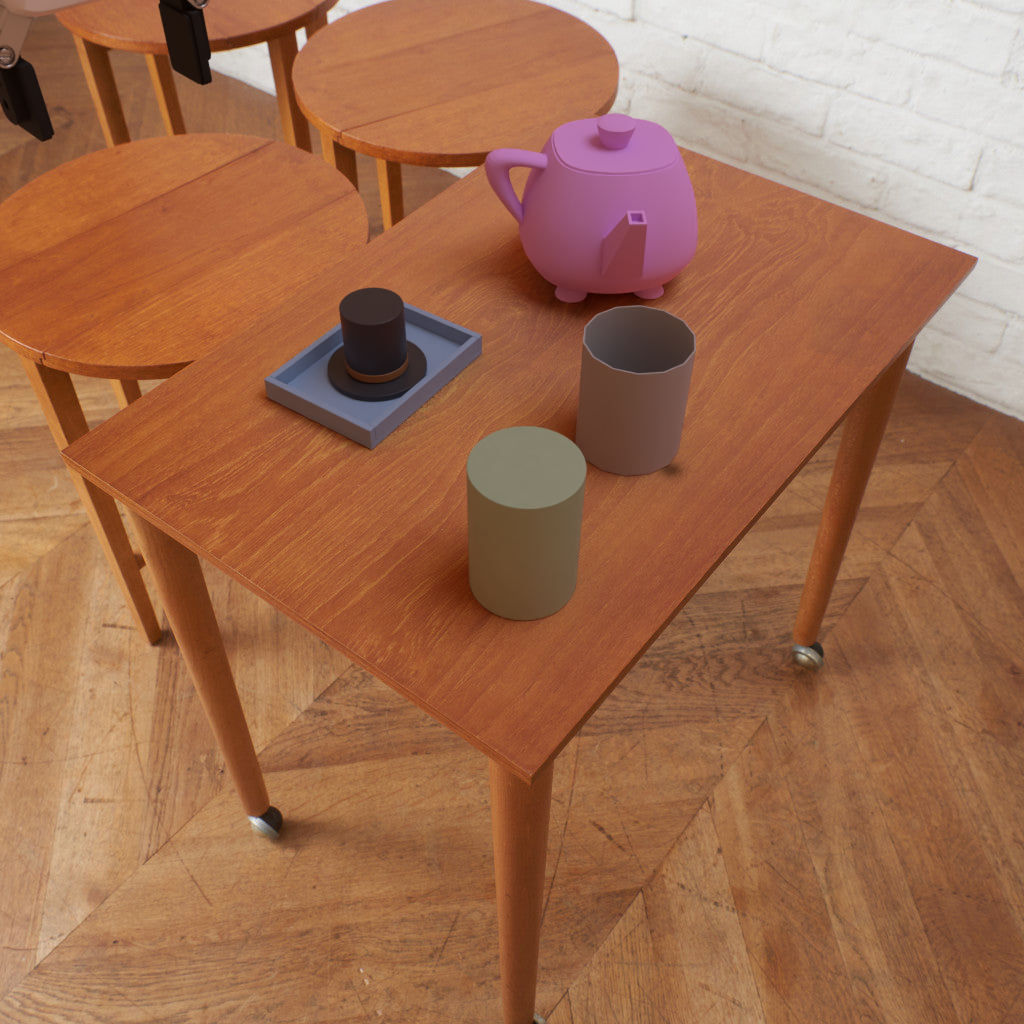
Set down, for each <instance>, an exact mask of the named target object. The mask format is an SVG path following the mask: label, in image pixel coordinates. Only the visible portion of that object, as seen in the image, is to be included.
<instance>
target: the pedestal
mask: <svg viewBox="0 0 1024 1024" xmlns="http://www.w3.org/2000/svg"><path fill="white" fill-rule="evenodd" d="M465 470H466V471H465V472H466V509H467V549H468V551H467V552H468V554H467V555H468V579H469V580H468V583H469V587H470V590H471V593H472V595H473V597H474V598H475V599H476V601H477V602H478V603H479V604H480V605H481V606H482V607H483V608H484V609H486V610H487V611H489V612H490V613H492V614H494V615H495V616H498V617H500V618H504V619H508V620H513V621H535V620H540V619H543V618H547V617H550V616H551V615H553V614H555V613H557V612H559V611H560V610H561V609H563V608H564V607H565V606H566V605H567V604H568V603H569V602H570V600H572V598H573V596H574V595H575V592H576V589H577V584H578V583H577V582H578V571H579V561H580V559H579V558H580V551H581V538H582V526H583V518H584V517H583V516H584V504H585V492H586V483H587V471H588V469H587V460H586V459H585V458H584V456H583V454H582V452H581V451H580V449H579V448H578V447H577V446H576V444H575V442H574V441H572V440H571V439H570V438H569V437H567V436H565V435H563V434H561V433H559V432H557V431H556V430H552V429H548V428H546V427H540V426H531V425H522V426H521V425H518V426H510V427H505V428H502V429H499V430H495V431H494V432H492V433H489V434H488V435H486V436H484V437H483V438H482V439H480V440H479V441H478V442H477V443H476V444H475V445H474V446H473V447H472V449H471V450H470V452H469V454H468V456H467V460H466V466H465Z"/></svg>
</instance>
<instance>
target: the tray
mask: <svg viewBox="0 0 1024 1024" xmlns="http://www.w3.org/2000/svg"><path fill="white" fill-rule="evenodd" d="M403 303H404V315H405V329H406V340H408V341H410V342H412V343H414V344H415V345H417V346H418V347H419V348H420V349H421V350H422V352H423V353H424V355H425V357H426V360H427V373H426V376H425V377H424V378H423V379H422V380H421V381H419V382H418V383H417V384H416V385H415V386H414V387H412V388H411V389H410V390H409V391H408V392H407V393H405V394H404V395H403V396H402V397H400V398H396V399H393V400H388V401H381V402H367V401H360V400H356V399H352V398H350V397H347V396H345V395H343V394H342V393H340V392H339V391H337V390H336V389H335V388H334V387H333V385H332V384H331V382H330V380H329V377H328V370H327V367H328V362H329V359H330V358H331V356H332V355H333V353H334V352H335V351H336V350H337V349H338V348H340V347H341V346H342V345H344V344H343V336H342V328H341V321H340V322H339V323H338V324H336V325H335V326H333V327H332V328H331V329H330V330H329V331H327V332H325V333H324V334H323V335H321V336H320V337H319V338H318V339H316V340H315V341H314V342H312V343H310V344H309V345H308V346H307V347H305V348H304V349H302V350H301V351H300V352H299V353H297V354H296V355H295V356H293V357H292V358H291V359H289V360H288V361H287V362H285V363H283V365H281V366H280V367H278V368H277V369H276V370H274V371H273V372H271V373H270V374H269V375H268V376H266V377H265V378H264V379H263V381H264V386H265V391H266V396H267V398H268V399H270V400H271V401H273V402H276V404H279V405H282V406H283V407H285V408H287V409H289V410H291V411H293V412H295V413H298V414H300V415H301V416H304V417H306V418H308V419H310V420H312V421H314V422H315V423H317V424H319V425H321V426H323V427H325V428H328V429H329V430H331V431H334V432H335V433H337V434H339V435H341V436H343V437H346V438H348V439H349V440H352V441H353V442H355V443H357V444H360V445H362V446H364V448H367V449H369V450H373V449H374V448H376V447H377V446H378V445H379V444H381V442H383V441H384V440H385V439H386V438H387V437H388V436H389V435H390V434H392V433H393V432H394V431H395V430H397V428H399V427H400V426H401V425H402V424H404V422H406V421H407V420H408V419H409V418H410V417H411V416H413V414H415V413H416V412H417V411H418V410H419V409H420V408H421V407H422V406H424V405H425V404H426V403H427V402H428V401H430V400H431V399H432V398H433V397H434V396H435V395H436V394H437V393H439V392H440V391H441V390H442V389H443V388H445V386H447V385H448V384H449V383H451V381H452V380H453V379H454V378H456V377H457V376H458V375H459V374H460V373H461V372H462V371H464V370H465V369H466V368H467V367H469V365H471V364H472V363H473V362H474V361H475V360H476V359H477V358H478V357H480V356H481V355H482V354H483V335H482V334H481V333H479V332H476V331H474V330H472V329H469V328H467V327H464V326H462V325H459V324H457V323H455V322H452V321H451V320H448V319H446V318H443V317H441V316H439V315H436V314H434V313H431V312H429V311H426V310H425V309H422V308H420V307H417V306H414V305H412V304H410V303H407V302H405V301H403Z"/></svg>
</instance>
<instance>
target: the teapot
mask: <svg viewBox="0 0 1024 1024" xmlns="http://www.w3.org/2000/svg"><path fill="white" fill-rule="evenodd" d="M512 168H529V169H530V171H529V173H528V175H527V178H526V181H525V185H524V189H523V193H522V197H521V201H520V199H519V198H518V196H517V194H516V192H515V189H514V187H513V185H512V182H511V178H510V170H512ZM484 170H485V175H486V178H487V180H488V184H489V186H490V188H491V189H492V190H493V192H494V193H495V195H496V196H497V198H498V199H499V200H500V202H501V204H502V205H503V206H504V207H505V209H506V210H507V211H508V212H509V214H510V215H511V216H512V218H514V219H515V221H516V222H517V223H518V235H519V239H520V242H521V246H522V248H523V250H524V253H525V255H526V256H527V258H528V260H529V261H530V263H531V265H532V266H533V267H534V269H535V270H536V271H537V272H538V274H540V276H541V277H542V278H543V279H544V280H545V281H547V282H548V283H550V284H552V285H555V286H556V288H555V291H554V295H555V297H556V299H558V300H559V301H561V302H564V303H568V304H569V303H579V302H582V301H584V300H585V299H586V298H587V296H588V293H589V294H590V293H591V294H603V295H605V294H606V295H607V294H610V295H612V294H613V295H615V294H628V293H633V294H634V295H635V296H636V297H637V298H640V299H644V300H655V299H658V298H660V297H662V296H663V295H664V294H665V289H664V286H663V285H665V284H667V283H669V282H671V281H672V280H674V278H676V277H677V276H678V275H679V274H681V272H683V271H684V270H685V269H686V268H687V267H688V266H689V264H690V263H691V262H692V261H693V258H694V257H695V255H696V252H697V248H698V241H699V240H698V239H699V238H698V237H699V234H698V233H699V224H698V223H699V220H698V209H697V201H696V196H695V190H694V187H693V184H692V181H691V178H690V175H689V172H688V170H687V167H686V163H685V161H684V159H683V156H682V153H681V151H680V149H679V147H678V145H677V143H676V141H675V139H674V137H673V136H672V134H671V133H670V132H669V131H668V130H667V129H666V128H665V127H664V126H662V125H661V124H659V123H656V122H654V121H650V120H646V119H640V118H634V117H633V116H630V115H627V114H623V113H605V114H603V115H601V116H599V117H590V118H582V119H577V120H572V121H568V122H566V123H563V124H561V125H560V126H558V127H556V129H554V130H553V132H552V133H551V134H550V136H549V137H548V139H547V140H546V142H545V143H544V144H543V146H542V148H541V150H540V152H537V151H532V150H527V149H521V148H511V147H509V148H507V147H506V148H497V149H494V150H492V151H490V152H489V153H488V154H487V155H486V156H485V160H484Z"/></svg>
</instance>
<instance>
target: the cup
mask: <svg viewBox="0 0 1024 1024" xmlns="http://www.w3.org/2000/svg"><path fill="white" fill-rule="evenodd" d="M696 339H697V338H696V334H695V332H694V331H693V330H692V328H691V327H690V326H689V325H688V324H687V322H686V321H685V320H684V319H682V318H680V317H678V316H676V315H674V314H672V313H670V312H668V311H667V310H665V309H660V308H655V307H651V306H646V305H642V304H641V305H625V306H624V305H623V306H615V307H612V308H610V309H607V310H604V311H601V312H599V313H597V314H595V315H594V316H593V317H592V318H591V319H590V320H589V321H588V322H587V324H586V325H585V326H583V337H582V347H581V348H582V349H581V363H580V373H579V374H580V376H579V377H580V378H579V389H578V403H577V413H576V427H575V440H574V441H575V442H574V444H575V445H576V446H577V447H578V448H579V449H580V451H581V452H582V454H583V456H584V458H585V461H586V462H588V463H590V464H592V465H593V466H594V467H596V468H598V469H599V470H601V471H604V472H607V473H611V474H615V475H619V476H624V477H630V476H644V475H651V474H652V473H655V472H657V471H660V470H661V469H663V468H666V467H667V466H669V465H670V464H671V462H672V461H673V460H674V458H675V457H676V456H677V455H678V453H679V451H680V444H681V439H682V433H683V428H684V423H685V417H686V411H687V405H688V400H689V399H688V398H689V393H690V387H691V381H692V375H693V369H694V364H695V359H696V353H697V340H696Z"/></svg>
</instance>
